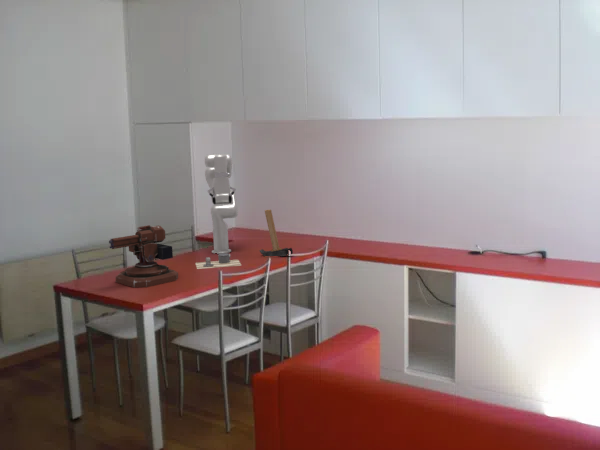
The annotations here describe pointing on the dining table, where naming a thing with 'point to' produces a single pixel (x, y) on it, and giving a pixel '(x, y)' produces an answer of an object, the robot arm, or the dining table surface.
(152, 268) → the model turret
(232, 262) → the board
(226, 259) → the cap
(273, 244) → the hammer
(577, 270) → the dining table surface
